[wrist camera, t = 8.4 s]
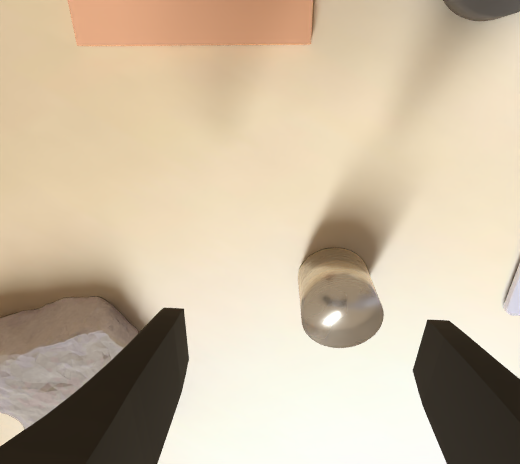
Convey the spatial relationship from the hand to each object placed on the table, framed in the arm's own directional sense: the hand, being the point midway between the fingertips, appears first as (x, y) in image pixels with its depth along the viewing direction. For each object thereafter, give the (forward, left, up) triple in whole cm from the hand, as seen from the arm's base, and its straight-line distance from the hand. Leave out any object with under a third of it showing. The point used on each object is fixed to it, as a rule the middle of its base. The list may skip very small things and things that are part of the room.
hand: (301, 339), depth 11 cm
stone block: (+13, +12, -10) cm, 20 cm away
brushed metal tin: (-2, +4, -9) cm, 11 cm away
